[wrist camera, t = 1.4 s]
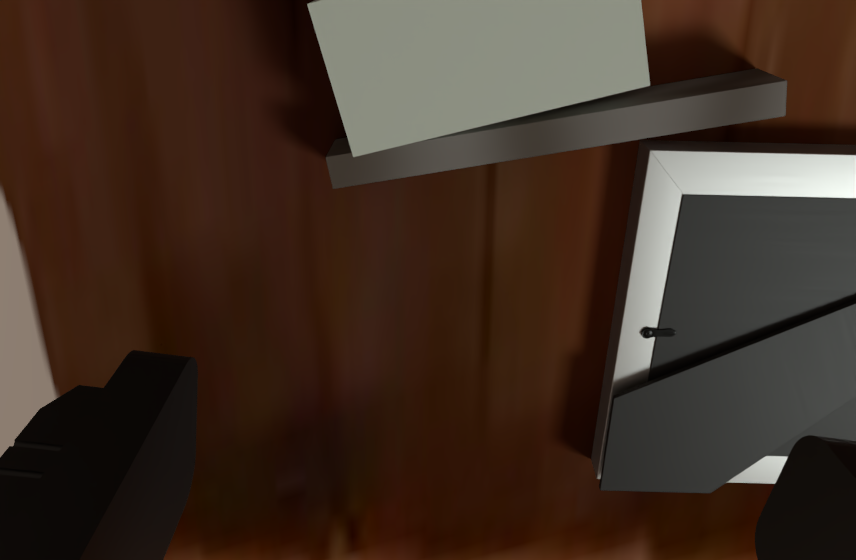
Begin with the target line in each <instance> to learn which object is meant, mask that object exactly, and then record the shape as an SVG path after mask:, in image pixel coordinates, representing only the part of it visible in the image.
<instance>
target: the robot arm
mask: <svg viewBox="0 0 856 560" xmlns="http://www.w3.org/2000/svg"><path fill="white" fill-rule="evenodd" d="M197 379H198V370H197V362H196V360H195V358H193V357H185V356H177V355H168V354H160V353H152V352H144V351H136V350H133V351H131V352H130V353H129V354H128V355H127V356H126V357H125V359H124V360H123V362H122V363H121V364H120V366H119V367H118V369H117V370H116V371H115V373H114V374H113V376H112V377H111V379H110V380H109V381H108V383H107V384H106V386H105V387H104V388H98V387H90V386H81V385H79V386H77V387H75V388H74V389H72V390H70V391H69V392H67V393H65V394H64V395H62V396H60V397H59V398H57V399H55V400H54V401H52V402H51V403H49V404H47V405H46V406H44V407H42V408H41V409H40V410H39V411H38V412H37V413H36V415H35V416H34V417H33V418H32V419H31V421H30V422H29V423H28V424H27V426H26V427H25V428H24V429H23V430H22V432H21V433H20V434H19V436H18V437H17V438H16V439H15V443H14V446H13V447H11V446H10V447H9V448H8V449H7V450H6V451H5V453H4V454H3V455H2V456H1V457H0V560H163V559H164V556H165V554H166V551H167V549H168V546H169V544H170V542H171V539H172V537H173V534H174V532H175V529H176V527H177V524H178V522H179V520H180V517H181V515H182V512H183V510H184V507H185V505H186V502H187V499H188V495H189V492H190V487H191V483H192V478H193V473H194V466H195V455H196V419H197ZM755 547H756V554H757V558H758V560H856V441H854V440H845V439H837V438H829V437H821V436H813V435H808V436H804V437H802V438H800V439H799V440H798V441H797V442H796V443H795V445H794V446H793V448H792V450H791V452H790V454H789V456H788V458H787V460H786V462H785V464H784V466H783V469H782V471H781V473H780V475H779V477H778V479H777V481H776V483H775V485H774V488H773V490H772V492H771V494H770V496H769V498H768V500H767V502H766V504H765V507H764V509H763V511H762V513H761V515H760V517H759V520H758V522H757V526H756V532H755Z"/></svg>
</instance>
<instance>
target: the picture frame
mask: <svg viewBox="0 0 856 560" xmlns="http://www.w3.org/2000/svg"><path fill="white" fill-rule="evenodd" d="M808 435H813V436H821V437H829V438H837V439H845V440H854V441H856V145H842V144H798V143H754V142H711V141H667V140H640V142H639V148H638V155H637V161H636V168H635V174H634V181H633V187H632V194H631V200H630V207H629V214H628V220H627V227H626V233H625V240H624V246H623V253H622V259H621V266H620V272H619V279H618V285H617V292H616V299H615V305H614V312H613V318H612V325H611V331H610V338H609V344H608V351H607V357H606V364H605V370H604V377H603V383H602V390H601V397H600V403H599V410H598V416H597V423H596V429H595V436H594V442H593V449H592V455H591V461H592V464H593V468H594V471H595V475H596V478H597V479H600V484H599V488H600V490H609V491H647V492H686V493H711V492H713V491H714V490H716V489H717V488H719V487H720V486H722V485H723V484H725V483H726V482H736V483H774V484H775V483H776V481H777V479H778V477H779V475H780V473H781V471H782V469H783V466H784V464H785V462H786V460H787V458H788V456H789V454H790V452H791V450H792V448H793V446H794V445H795V443H796V442H797V441H798V440H799V439H800V438H802V437H804V436H808Z"/></svg>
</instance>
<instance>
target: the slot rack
mask: <svg viewBox="0 0 856 560" xmlns="http://www.w3.org/2000/svg"><path fill="white" fill-rule="evenodd" d="M786 92H787V80H784V79H782V78H779V77H777V76H774V75H772V74H769V73H767V72H765V71H762V70H760V69H751V70H745V71H739V72H733V73H727V74H721V75H715V76H709V77H703V78H697V79H691V80H685V81H679V82H673V83H667V84H661V85H656V86H650V87H644V88H639V89H634V90H630V91H626V92H622V93H618V94H614V95H609V96H605V97H601V98H597V99H593V100H589V101H585V102H580V103H576V104H572V105H568V106H564V107H560V108H556V109H551V110H547V111H543V112H539V113H535V114H531V115H526V116H522V117H518V118H514V119H510V120H506V121H502V122H497V123H493V124H489V125H485V126H481V127H477V128H473V129H468V130H464V131H460V132H456V133H452V134H448V135H443V136H439V137H435V138H431V139H427V140H423V141H419V142H414V143H410V144H406V145H402V146H398V147H394V148H390V149H385V150H381V151H377V152H373V153H369V154H365V155H360V156H356V157H353V155H352V151H351V148H350V145H349V141H348V138H347V137H346V138H340V139H335V141H334V143H333V144H332V146H331V148H330V150H329V152H328V154H327V155H326V161H327V165H328V169H329V174H330V178H331V182H332V186H333V189H335V188H342V187H348V186H354V185H360V184H366V183H373V182H379V181H385V180H391V179H397V178H404V177H410V176H416V175H422V174H428V173H434V172H441V171H447V170H453V169H459V168H465V167H472V166H478V165H484V164H490V163H496V162H503V161H509V160H515V159H521V158H527V157H534V156H540V155H546V154H552V153H558V152H565V151H571V150H577V149H583V148H589V147H596V146H602V145H608V144H614V143H620V142H627V141H633V140H639V139H645V138H651V137H658V136H664V135H670V134H676V133H682V132H689V131H695V130H701V129H707V128H713V127H720V126H726V125H732V124H738V123H744V122H751V121H757V120H763V119H769V118H775V117H782V116H785V113H786Z"/></svg>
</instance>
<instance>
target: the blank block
mask: <svg viewBox="0 0 856 560" xmlns="http://www.w3.org/2000/svg"><path fill="white" fill-rule="evenodd" d="M307 5H308V9H309V12H310V15H311V19H312V22H313V25H314V29H315V32H316V35H317V39H318V42H319V45H320V49H321V52H322V55H323V58H324V62H325V65H326V68H327V72H328V75H329V78H330V82H331V85H332V88H333V92H334V95H335V98H336V102H337V105H338V108H339V111H340V115H341V118H342V121H343V125H344V128H345V131H346V135H347V138H348V141H349V145H350V148H351V151H352V155H353V157H356V156H360V155H365V154H369V153H373V152H377V151H381V150H385V149H390V148H394V147H398V146H402V145H406V144H410V143H414V142H419V141H423V140H427V139H431V138H435V137H439V136H443V135H448V134H452V133H456V132H460V131H464V130H468V129H473V128H477V127H481V126H485V125H489V124H493V123H497V122H502V121H506V120H510V119H514V118H518V117H522V116H526V115H531V114H535V113H539V112H543V111H547V110H551V109H556V108H560V107H564V106H568V105H572V104H576V103H580V102H585V101H589V100H593V99H597V98H601V97H605V96H609V95H614V94H618V93H622V92H626V91H630V90H634V89H639V88H643V87H647V86H650V79H649V70H648V60H647V51H646V42H645V33H644V24H643V14H642V5H641V0H315V1H313V2H310V3H308V4H307Z"/></svg>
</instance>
